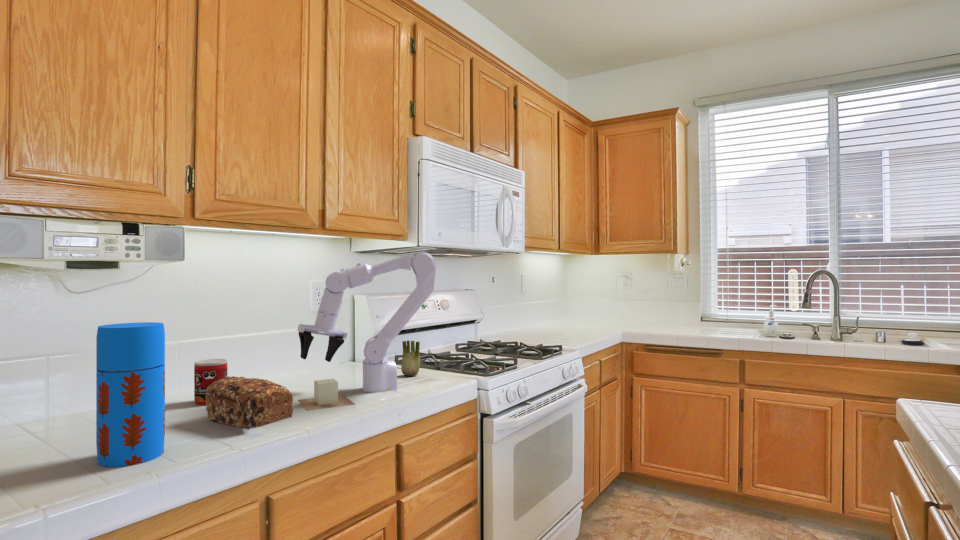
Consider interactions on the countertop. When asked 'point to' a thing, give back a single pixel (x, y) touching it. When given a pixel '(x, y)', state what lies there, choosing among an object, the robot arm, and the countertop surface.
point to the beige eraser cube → (325, 391)
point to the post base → (311, 404)
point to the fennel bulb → (410, 358)
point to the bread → (247, 402)
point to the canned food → (207, 376)
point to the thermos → (130, 393)
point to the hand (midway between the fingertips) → (315, 359)
